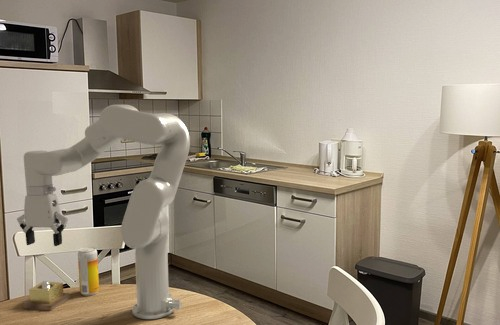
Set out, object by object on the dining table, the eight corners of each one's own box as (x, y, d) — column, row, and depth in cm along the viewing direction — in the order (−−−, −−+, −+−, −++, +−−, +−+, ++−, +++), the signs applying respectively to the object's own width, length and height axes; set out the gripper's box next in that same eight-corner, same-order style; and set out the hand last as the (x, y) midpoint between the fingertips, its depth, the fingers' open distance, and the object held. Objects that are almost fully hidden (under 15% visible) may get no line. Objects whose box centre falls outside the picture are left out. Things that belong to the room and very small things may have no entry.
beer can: (102, 289, 161) (99, 246, 159) (94, 296, 155) (92, 252, 153) (85, 289, 162) (82, 246, 160) (76, 296, 156) (74, 251, 154)
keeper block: (70, 297, 155) (69, 276, 154) (51, 310, 145) (49, 288, 144) (43, 295, 157) (42, 274, 156) (22, 307, 147) (21, 286, 146)
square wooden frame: (63, 294, 153) (62, 282, 153) (49, 303, 146) (48, 291, 146) (44, 293, 155) (43, 281, 154) (30, 301, 148) (29, 289, 147)
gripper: (71, 188, 148) (75, 242, 150) (23, 188, 152) (28, 240, 154) (57, 193, 141) (61, 249, 143) (7, 192, 145) (12, 247, 147)
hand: (44, 244), depth 148 cm, fingers open, 9 cm apart
